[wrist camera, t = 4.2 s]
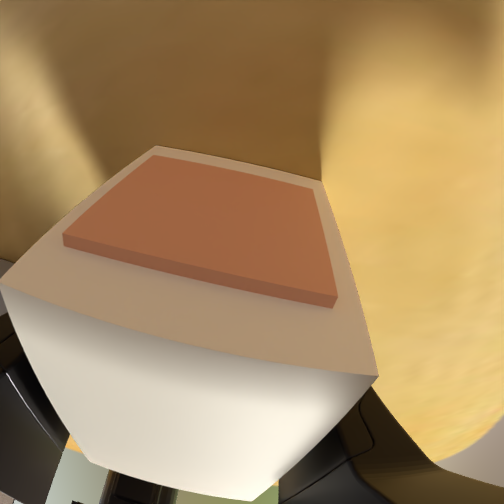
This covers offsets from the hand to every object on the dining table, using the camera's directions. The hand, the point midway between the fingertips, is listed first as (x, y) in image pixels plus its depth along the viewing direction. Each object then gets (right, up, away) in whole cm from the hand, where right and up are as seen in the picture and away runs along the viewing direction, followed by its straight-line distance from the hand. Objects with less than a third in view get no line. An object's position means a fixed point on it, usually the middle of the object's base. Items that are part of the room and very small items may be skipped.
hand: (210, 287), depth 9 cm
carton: (0, +1, +1) cm, 1 cm away
